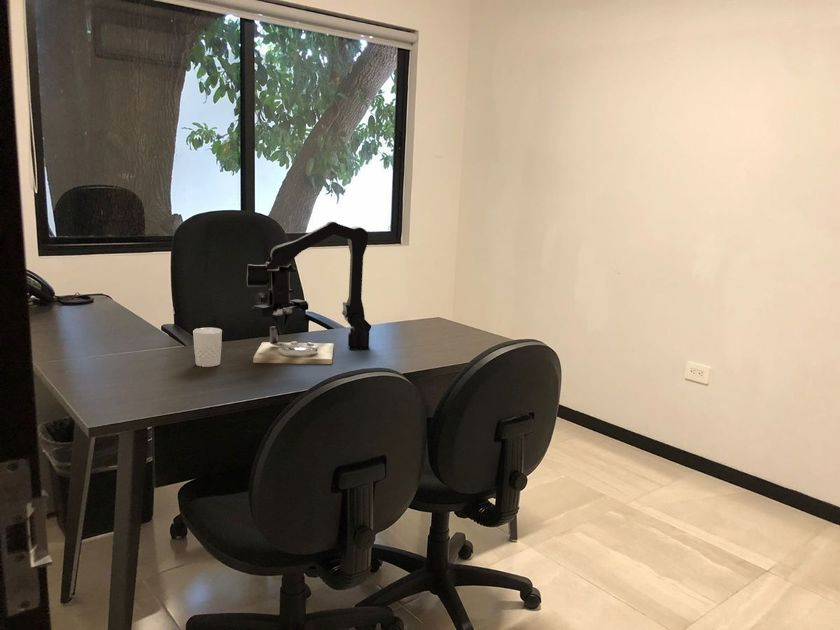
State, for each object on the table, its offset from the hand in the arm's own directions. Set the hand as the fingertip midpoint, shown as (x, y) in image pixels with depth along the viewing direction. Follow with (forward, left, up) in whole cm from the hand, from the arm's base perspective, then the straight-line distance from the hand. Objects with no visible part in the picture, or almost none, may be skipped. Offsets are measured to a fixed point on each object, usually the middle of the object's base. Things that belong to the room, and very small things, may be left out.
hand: (281, 334), depth 206 cm
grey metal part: (-4, +7, -4) cm, 9 cm away
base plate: (-5, +6, -5) cm, 9 cm away
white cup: (+19, +18, -5) cm, 27 cm away
